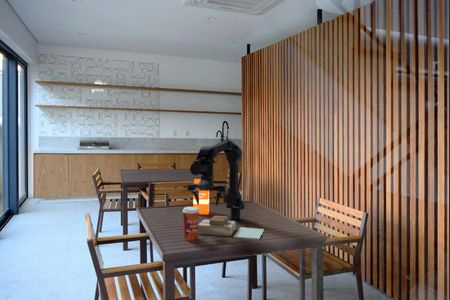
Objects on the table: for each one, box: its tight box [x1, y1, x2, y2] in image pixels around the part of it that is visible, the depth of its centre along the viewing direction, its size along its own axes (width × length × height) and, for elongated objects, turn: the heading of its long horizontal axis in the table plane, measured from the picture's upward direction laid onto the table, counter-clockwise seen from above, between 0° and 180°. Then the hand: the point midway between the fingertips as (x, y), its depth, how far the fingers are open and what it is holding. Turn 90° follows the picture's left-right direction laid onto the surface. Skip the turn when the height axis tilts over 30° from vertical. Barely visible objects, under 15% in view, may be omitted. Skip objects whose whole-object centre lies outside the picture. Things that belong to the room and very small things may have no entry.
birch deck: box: [198, 218, 237, 237], centre depth 178 cm, size 12×16×4 cm
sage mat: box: [233, 227, 265, 240], centre depth 174 cm, size 16×12×1 cm
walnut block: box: [209, 215, 229, 226], centre depth 177 cm, size 9×7×2 cm
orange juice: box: [192, 178, 210, 215], centre depth 216 cm, size 8×9×20 cm
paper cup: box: [182, 206, 200, 242], centre depth 165 cm, size 8×8×14 cm
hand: (207, 205), depth 177 cm, fingers open, 9 cm apart
